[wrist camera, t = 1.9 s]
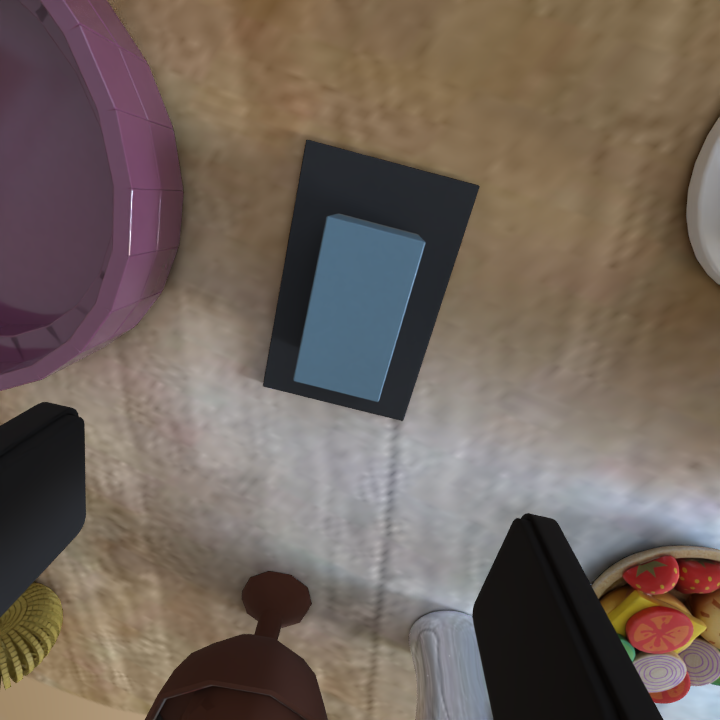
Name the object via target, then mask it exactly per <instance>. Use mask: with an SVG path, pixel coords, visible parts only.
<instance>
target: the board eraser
mask: <svg viewBox="0 0 720 720" xmlns="http://www.w3.org/2000/svg"><path fill="white" fill-rule="evenodd" d="M424 246H425V241H424V240H423V239H422V238H421V237H420V236H419V235H418V234H415V233H411V232H407V231H404V230H400V229H396V228H392V227H388V226H385V225H381V224H377V223H373V222H370V221H366V220H362V219H358V218H354V217H351V216H347V215H343V214H335V215H330V216H327V217H326V222H325V227H324V232H323V237H322V241H321V246H320V251H319V256H318V261H317V266H316V271H315V276H314V281H313V285H312V290H311V295H310V300H309V305H308V310H307V315H306V320H305V325H304V329H303V334H302V339H301V344H300V349H299V354H298V359H297V364H296V369H295V373H294V378H293V380H294V381H296V382H300V383H304V384H308V385H312V386H316V387H320V388H324V389H328V390H332V391H336V392H340V393H344V394H348V395H352V396H356V397H360V398H364V399H368V400H372V401H376V402H378V401H379V399H380V396H381V392H382V389H383V385H384V382H385V379H386V375H387V372H388V368H389V365H390V362H391V358H392V355H393V351H394V348H395V345H396V341H397V338H398V335H399V331H400V328H401V324H402V321H403V318H404V314H405V311H406V307H407V304H408V301H409V297H410V294H411V290H412V287H413V284H414V280H415V277H416V274H417V270H418V267H419V263H420V260H421V257H422V253H423V250H424Z"/></svg>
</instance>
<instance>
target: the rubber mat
mask: <svg viewBox="0 0 720 720" xmlns="http://www.w3.org/2000/svg"><path fill="white" fill-rule="evenodd" d="M478 189H479V186H478V185H475V184H471V183H467V182H463V181H460V180H456V179H452V178H449V177H445V176H441V175H437V174H434V173H430V172H426V171H423V170H419V169H415V168H411V167H408V166H404V165H400V164H396V163H393V162H389V161H385V160H382V159H378V158H374V157H370V156H367V155H363V154H359V153H355V152H352V151H348V150H344V149H341V148H337V147H333V146H329V145H326V144H322V143H318V142H314V141H311V140H306V145H305V150H304V156H303V162H302V167H301V173H300V179H299V185H298V190H297V196H296V202H295V207H294V213H293V219H292V224H291V230H290V236H289V241H288V247H287V253H286V258H285V264H284V270H283V275H282V281H281V287H280V292H279V298H278V304H277V309H276V315H275V321H274V327H273V332H272V338H271V344H270V349H269V355H268V361H267V366H266V372H265V378H264V383H263V386H264V387H268V388H272V389H276V390H280V391H284V392H288V393H292V394H296V395H300V396H304V397H308V398H312V399H316V400H320V401H325V402H329V403H333V404H337V405H341V406H345V407H349V408H353V409H357V410H361V411H365V412H369V413H373V414H377V415H381V416H385V417H389V418H393V419H397V420H401V421H403V420H404V417H405V413H406V410H407V407H408V404H409V401H410V398H411V395H412V392H413V389H414V386H415V383H416V380H417V377H418V374H419V371H420V367H421V364H422V361H423V358H424V355H425V352H426V349H427V346H428V343H429V340H430V337H431V334H432V331H433V328H434V325H435V321H436V318H437V315H438V312H439V309H440V306H441V303H442V300H443V297H444V294H445V291H446V288H447V285H448V282H449V278H450V275H451V272H452V269H453V266H454V263H455V260H456V257H457V254H458V251H459V248H460V245H461V242H462V239H463V236H464V232H465V229H466V226H467V223H468V220H469V217H470V214H471V211H472V208H473V205H474V202H475V199H476V196H477V193H478ZM335 214H343V215H347V216H351V217H354V218H358V219H362V220H366V221H370V222H373V223H377V224H381V225H385V226H388V227H392V228H396V229H400V230H404V231H407V232H411V233H415V234H418V235H419V236H420V237H421V238H422V239H423V240H424V241H425V246H424V250H423V253H422V257H421V260H420V263H419V267H418V270H417V274H416V277H415V280H414V284H413V287H412V290H411V294H410V297H409V301H408V304H407V307H406V311H405V314H404V318H403V321H402V324H401V328H400V331H399V335H398V338H397V341H396V345H395V348H394V351H393V355H392V358H391V362H390V365H389V368H388V372H387V375H386V379H385V382H384V385H383V389H382V392H381V396H380V399H379V401H378V402H376V401H372V400H368V399H364V398H360V397H356V396H352V395H348V394H344V393H340V392H336V391H332V390H328V389H324V388H320V387H316V386H312V385H308V384H304V383H300V382H296V381H294V380H293V378H294V373H295V369H296V364H297V359H298V354H299V349H300V344H301V339H302V334H303V329H304V325H305V320H306V315H307V310H308V305H309V300H310V295H311V290H312V285H313V281H314V276H315V271H316V266H317V261H318V256H319V251H320V246H321V241H322V237H323V232H324V227H325V222H326V217H327V216H330V215H335Z"/></svg>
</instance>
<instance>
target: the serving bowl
mask: <svg viewBox="0 0 720 720" xmlns="http://www.w3.org/2000/svg"><path fill="white" fill-rule="evenodd" d="M183 195H184V192H183V184H182V178H181V172H180V165H179V159H178V153H177V147H176V140H175V134H174V130H173V126H172V123H171V121H170V118H169V116H168V113H167V111H166V108H165V106H164V103H163V100H162V98H161V95H160V93H159V90H158V88H157V85H156V83H155V80H154V77H153V75H152V72H151V70H150V67H149V65H148V64H147V61H146V60H145V58H144V56H143V55H142V53H141V52H140V50H139V49H138V47H137V46H136V44H135V43H134V41H133V40H132V38H131V36H130V35H129V33H128V32H127V30H126V29H125V27H124V26H123V24H122V23H121V21H120V20H119V18H118V17H117V15H116V13H115V12H114V10H113V9H112V7H111V6H110V4H109V3H108V1H107V0H0V391H2V390H6V389H10V388H13V387H17V386H20V385H24V384H28V383H31V382H35V381H39V380H42V379H44V378H46V377H48V376H50V375H51V374H53V373H55V372H57V371H59V370H61V369H63V368H65V367H67V366H69V365H71V364H73V363H75V362H77V361H79V360H81V359H83V358H85V357H87V356H88V355H90V354H92V353H94V352H96V351H98V350H100V349H102V348H104V347H105V346H107V345H108V344H110V343H111V342H113V341H114V340H116V339H117V338H119V337H120V336H122V335H123V334H125V333H126V332H128V331H129V330H131V329H132V328H134V327H135V326H136V325H137V324H138V323H139V321H140V320H141V319H142V317H143V316H144V315H145V314H146V312H147V311H148V310H149V308H150V307H151V306H152V305H153V303H154V302H155V301H156V299H157V298H158V297H159V296H160V294H161V293H162V291H163V288H164V286H165V283H166V280H167V277H168V275H169V272H170V269H171V267H172V264H173V261H174V259H175V256H176V253H177V250H178V248H179V247H178V246H179V244H180V232H181V219H182V207H183Z"/></svg>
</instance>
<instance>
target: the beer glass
mask: <svg viewBox="0 0 720 720" xmlns="http://www.w3.org/2000/svg"><path fill="white" fill-rule="evenodd" d="M409 646H410V650H411V655H412V659H413V663H414V668H415V673H416V682H417V705H416V718H415V720H493V716H492V711H491V706H490V701H489V696H488V692H487V687H486V682H485V677H484V672H483V668H482V663H481V658H480V653H479V648H478V644H477V639H476V634H475V629H474V624H473V617H471V616H469V615H467V614H465V613H462V612H458V611H451V610H442V611H436V612H432V613H429V614H426V615H424V616H422V617H421V618H420V619H418V620H417V621H416V622H415V623H414V624H413V626H412V627H411V629H410V632H409Z"/></svg>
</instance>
